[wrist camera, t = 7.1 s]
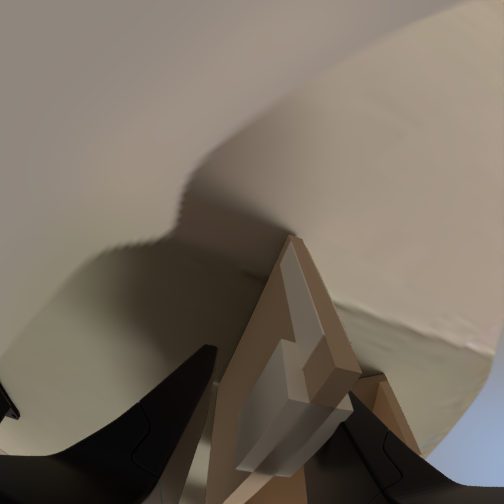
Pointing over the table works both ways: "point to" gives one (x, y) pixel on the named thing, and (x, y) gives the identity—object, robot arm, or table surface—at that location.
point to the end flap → (281, 382)
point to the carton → (380, 403)
